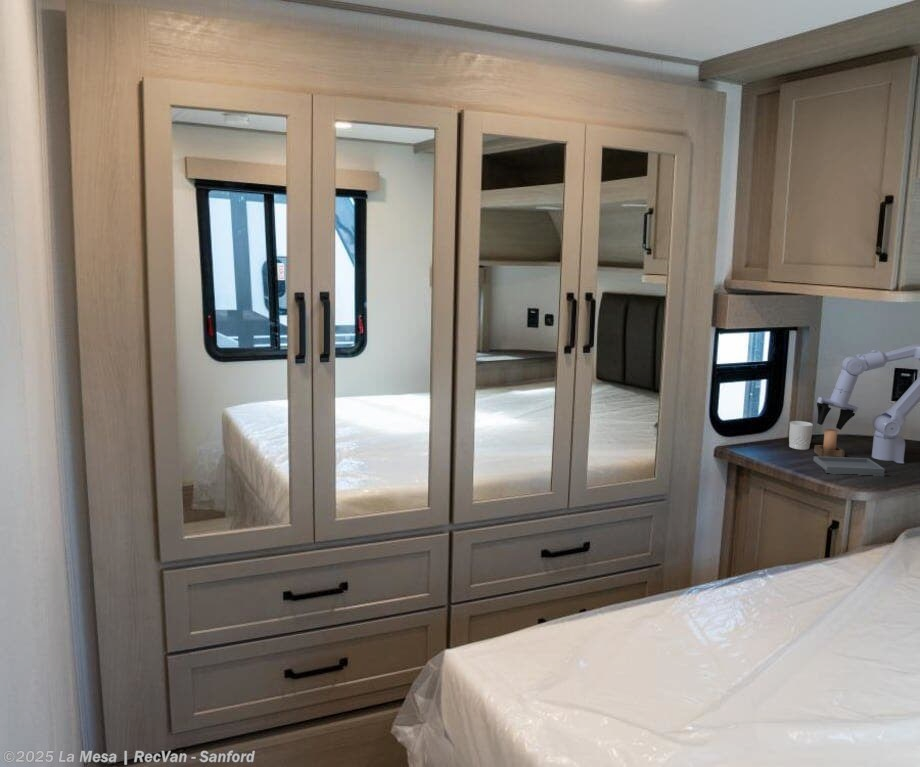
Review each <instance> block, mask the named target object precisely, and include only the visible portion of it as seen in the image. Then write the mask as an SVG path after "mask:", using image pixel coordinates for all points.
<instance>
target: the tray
mask: <svg viewBox="0 0 920 767" xmlns="http://www.w3.org/2000/svg"><path fill="white" fill-rule="evenodd" d="M813 462H814V463H816V464H817V465H818V466H819V467H821V468H822V470H823V471H824V472H823V471H822V472H823V473H825V472H826V473H830V474H829V475H836V474H858V475H857V476H861V475H873V476H872V477H885V473H886V469H885V468H884V467H882V466H881V465H879V464H878V463H876V462H875V461H874V460H872V459H870V458H869V457H845V456H844V457H820V456H819V455H818V456H815V455H814V456H813ZM826 473H825V474H826ZM831 473H832V474H831Z"/></svg>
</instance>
